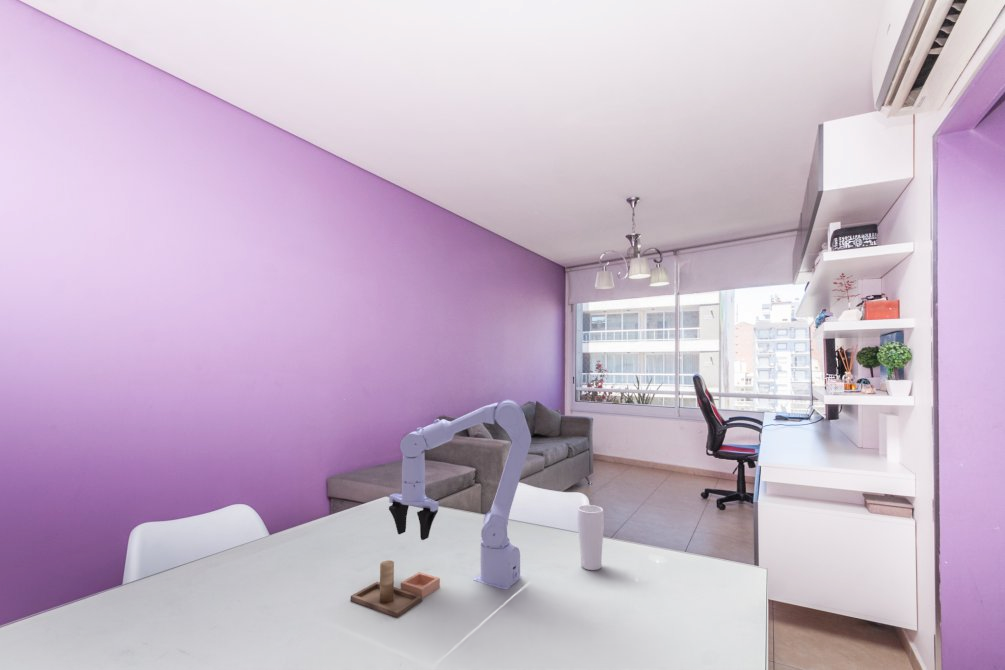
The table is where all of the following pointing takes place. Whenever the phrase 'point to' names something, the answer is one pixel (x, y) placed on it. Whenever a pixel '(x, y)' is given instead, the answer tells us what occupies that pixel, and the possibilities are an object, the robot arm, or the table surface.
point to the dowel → (386, 581)
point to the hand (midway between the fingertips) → (412, 535)
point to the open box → (421, 584)
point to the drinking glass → (590, 536)
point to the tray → (395, 608)
